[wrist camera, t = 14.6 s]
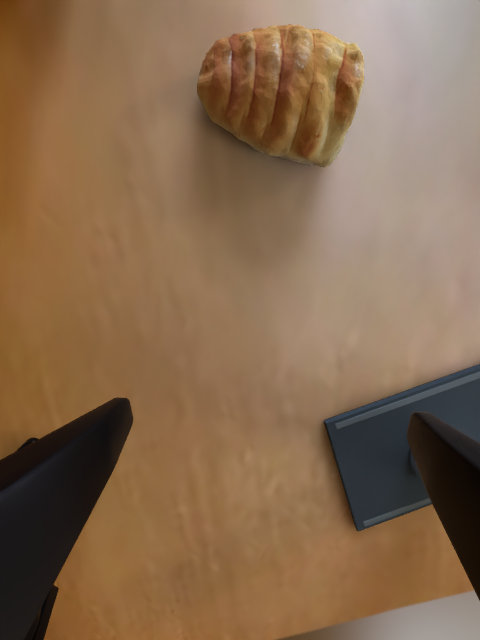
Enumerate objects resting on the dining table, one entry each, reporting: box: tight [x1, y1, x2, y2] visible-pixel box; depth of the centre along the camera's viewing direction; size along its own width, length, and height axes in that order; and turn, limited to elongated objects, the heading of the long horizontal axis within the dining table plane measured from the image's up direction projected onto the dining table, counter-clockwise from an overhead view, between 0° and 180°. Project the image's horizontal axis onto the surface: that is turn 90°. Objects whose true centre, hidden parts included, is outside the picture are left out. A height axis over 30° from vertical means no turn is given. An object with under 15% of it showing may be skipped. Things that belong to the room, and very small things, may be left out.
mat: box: [324, 364, 480, 531], centre depth 24 cm, size 20×12×1 cm, turn 109°
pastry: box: [197, 24, 364, 167], centre depth 16 cm, size 9×7×4 cm
